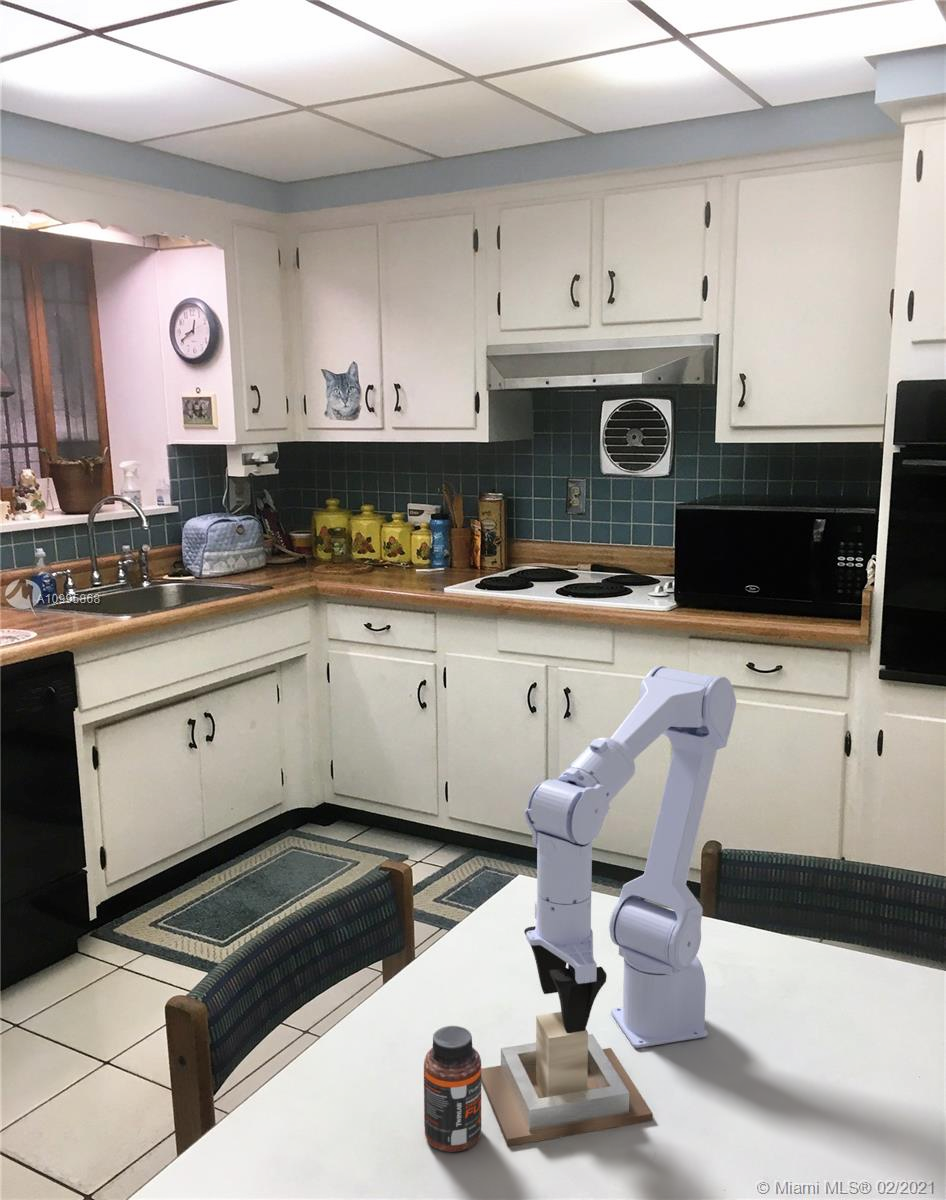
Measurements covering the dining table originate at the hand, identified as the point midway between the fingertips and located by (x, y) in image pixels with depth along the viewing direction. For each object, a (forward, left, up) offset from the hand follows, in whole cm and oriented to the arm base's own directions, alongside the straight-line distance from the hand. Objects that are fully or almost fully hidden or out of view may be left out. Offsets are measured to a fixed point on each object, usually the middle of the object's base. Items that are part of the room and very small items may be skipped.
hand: (563, 1010), depth 112 cm
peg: (0, 0, -10) cm, 10 cm away
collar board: (0, 0, -10) cm, 10 cm away
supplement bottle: (+13, +3, -11) cm, 17 cm away
